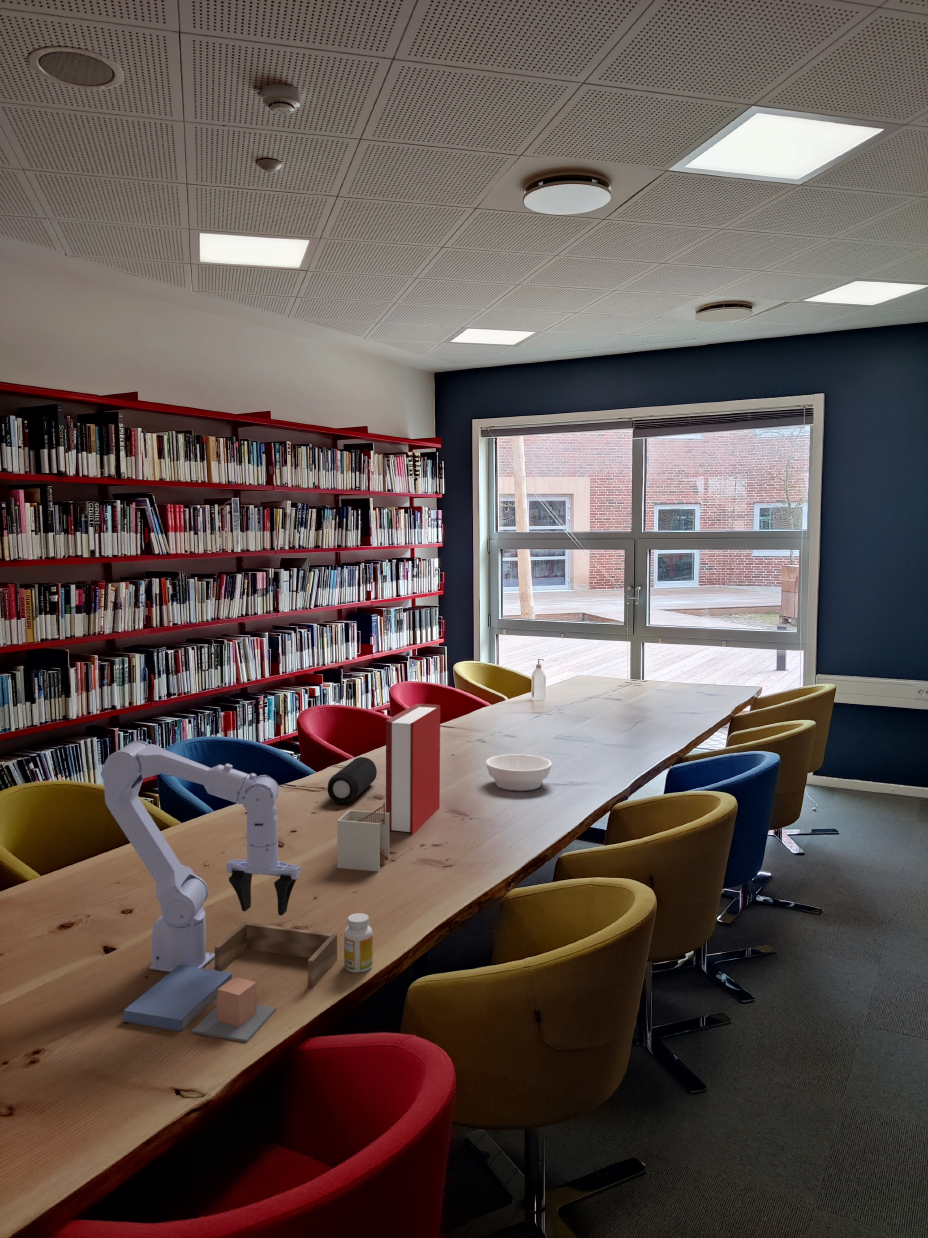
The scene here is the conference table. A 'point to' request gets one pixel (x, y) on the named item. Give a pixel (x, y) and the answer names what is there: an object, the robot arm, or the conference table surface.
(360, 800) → the conference table surface
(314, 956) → the walnut u-shaped open frame
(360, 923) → the supplement bottle
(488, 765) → the bowl
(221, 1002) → the terracotta block
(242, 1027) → the felt mat
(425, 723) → the book
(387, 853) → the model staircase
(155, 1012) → the navy book
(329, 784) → the portable speaker
